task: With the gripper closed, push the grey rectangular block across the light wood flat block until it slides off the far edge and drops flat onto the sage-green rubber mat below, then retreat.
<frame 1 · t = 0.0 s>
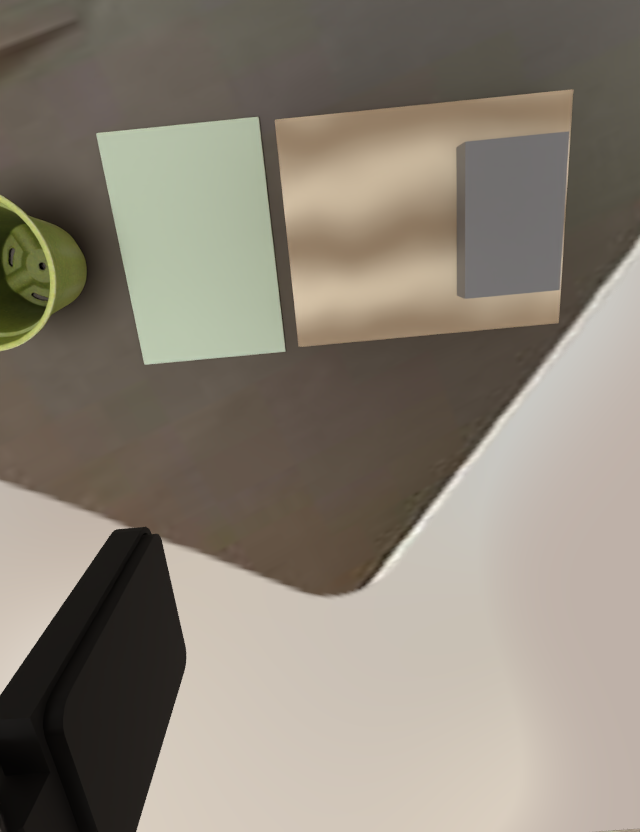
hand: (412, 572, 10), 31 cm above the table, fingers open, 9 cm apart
grey rectangular block: (503, 220, 33), point 4 cm above the table, touching light wood flat block
light wood flat block: (414, 228, 37), on the table
mat: (198, 249, 37), on the table
plant pot: (47, 264, 38), on the table
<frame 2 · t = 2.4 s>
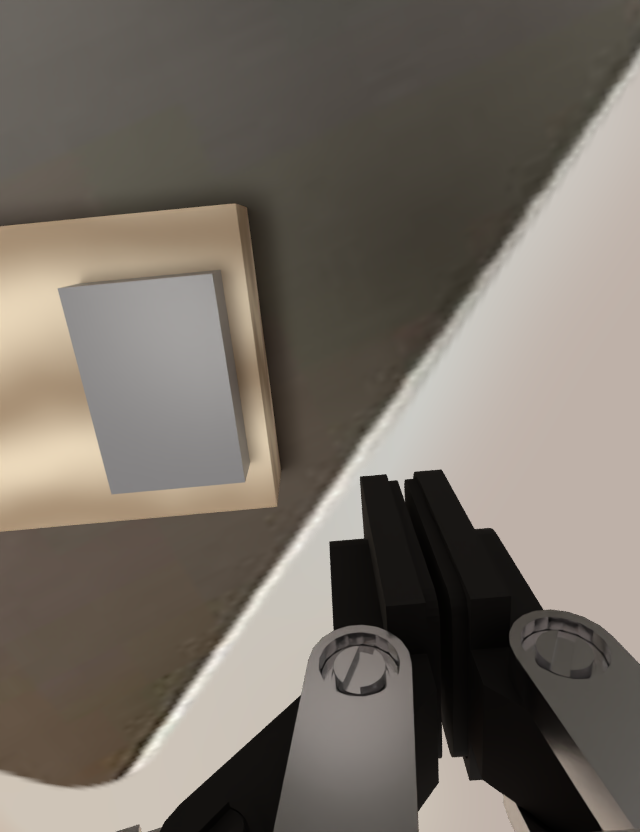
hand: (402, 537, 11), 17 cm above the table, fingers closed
grey rectangular block: (170, 379, 23), point 4 cm above the table, touching light wood flat block
light wood flat block: (95, 366, 27), on the table
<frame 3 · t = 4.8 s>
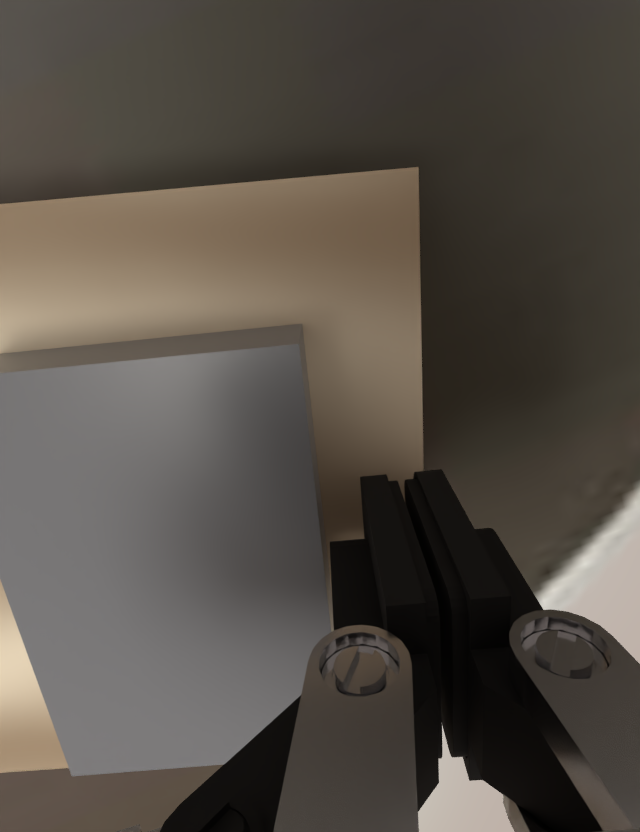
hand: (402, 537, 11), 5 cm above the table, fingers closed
grey rectangular block: (191, 536, 12), point 4 cm above the table, touching light wood flat block, gripper
light wood flat block: (96, 468, 15), on the table
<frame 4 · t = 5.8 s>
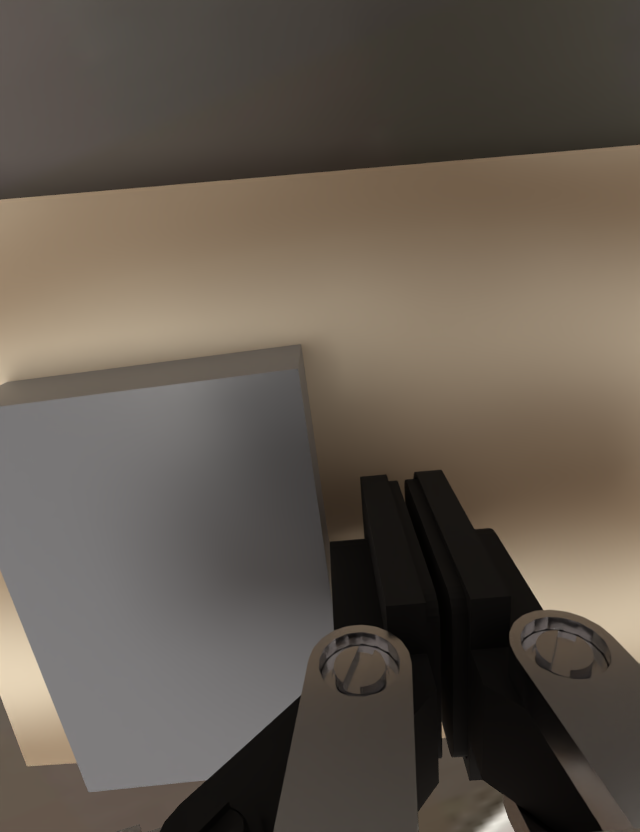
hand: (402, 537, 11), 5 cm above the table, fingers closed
grey rectangular block: (198, 553, 12), point 4 cm above the table, touching gripper
light wood flat block: (333, 446, 15), on the table
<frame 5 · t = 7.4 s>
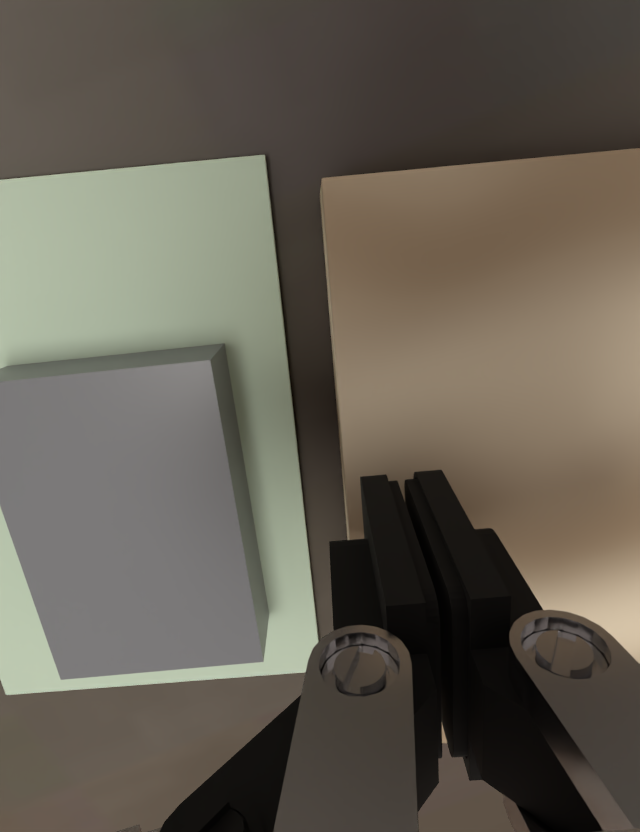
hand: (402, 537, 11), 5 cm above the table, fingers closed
grey rectangular block: (126, 538, 13), point 2 cm above the table, tilted 180°, touching mat
mat: (115, 469, 15), on the table
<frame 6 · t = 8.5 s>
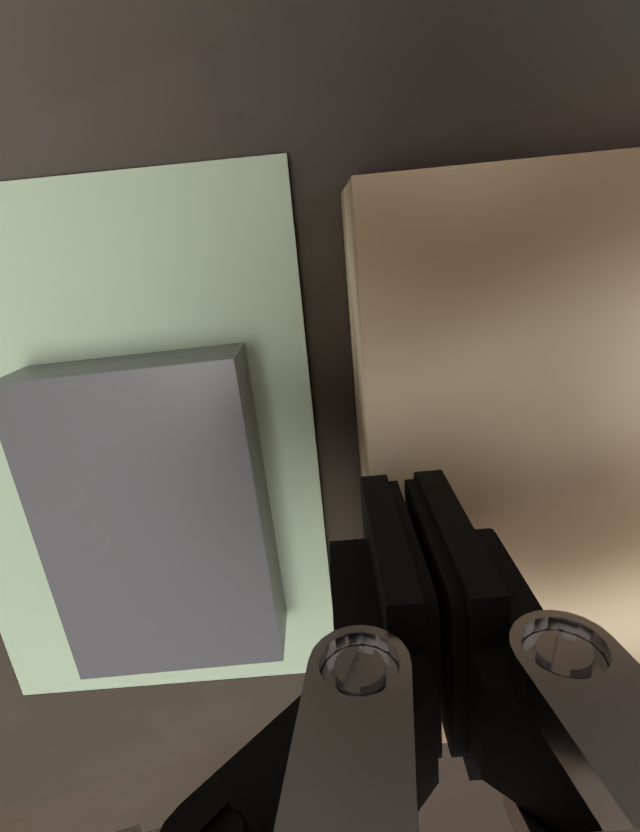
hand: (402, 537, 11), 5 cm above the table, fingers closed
grey rectangular block: (148, 537, 13), point 2 cm above the table, tilted 180°, touching mat
mat: (134, 469, 15), on the table
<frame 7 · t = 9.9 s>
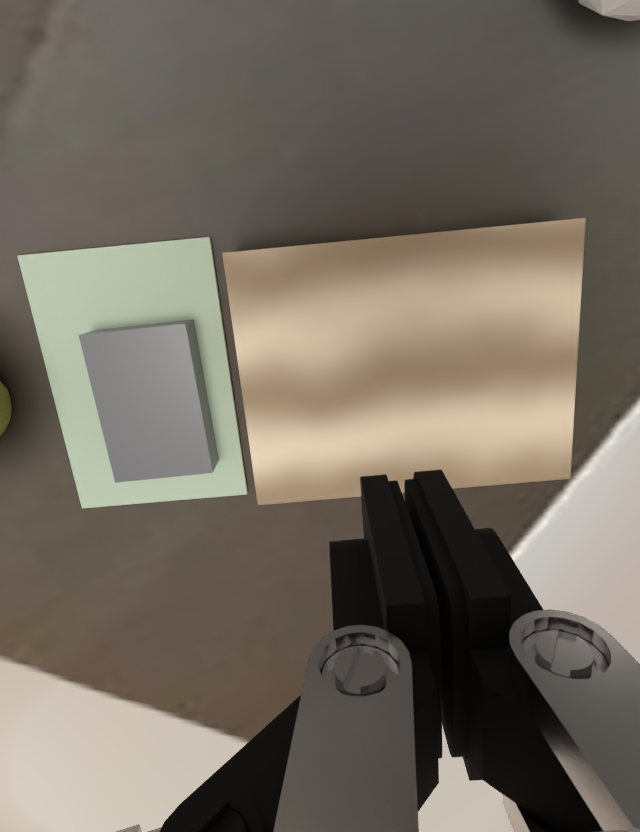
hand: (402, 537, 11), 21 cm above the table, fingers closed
grey rectangular block: (148, 406, 30), point 2 cm above the table, tilted 180°, touching mat
light wood flat block: (397, 359, 31), on the table
mat: (142, 382, 32), on the table
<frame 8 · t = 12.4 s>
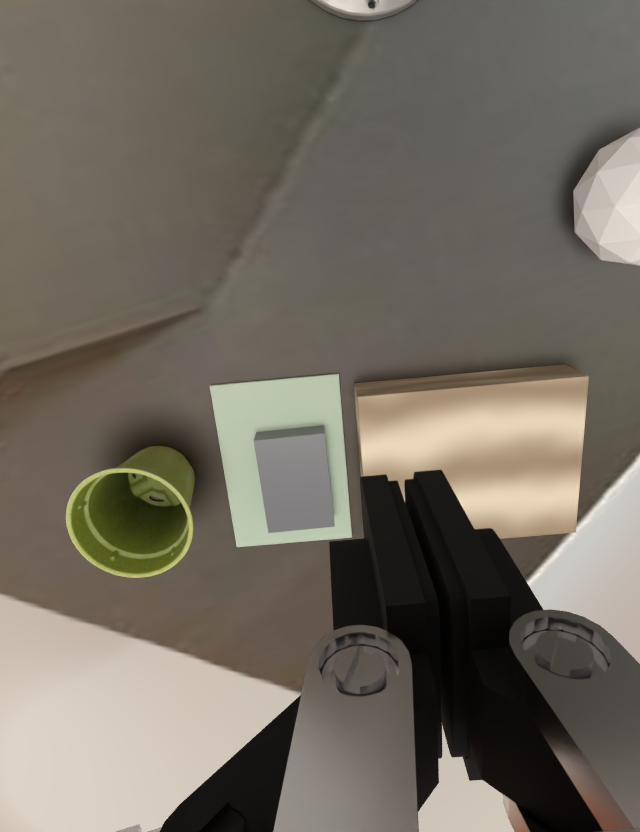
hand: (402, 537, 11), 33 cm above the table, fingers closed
grey rectangular block: (295, 485, 44), point 2 cm above the table, tilted 180°, touching mat
light wood flat block: (459, 449, 46), on the table
perfume bottle: (626, 206, 40), on the table
mat: (284, 464, 46), on the table
plant pot: (162, 474, 47), on the table
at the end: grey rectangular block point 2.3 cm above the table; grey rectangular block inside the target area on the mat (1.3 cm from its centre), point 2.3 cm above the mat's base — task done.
